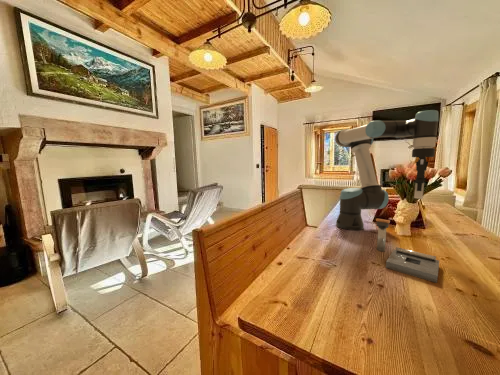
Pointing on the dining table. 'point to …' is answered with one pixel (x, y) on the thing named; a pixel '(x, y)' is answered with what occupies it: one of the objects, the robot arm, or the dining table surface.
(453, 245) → the dining table surface
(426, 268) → the grey flat square block
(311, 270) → the dining table surface
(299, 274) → the dining table surface
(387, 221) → the key
